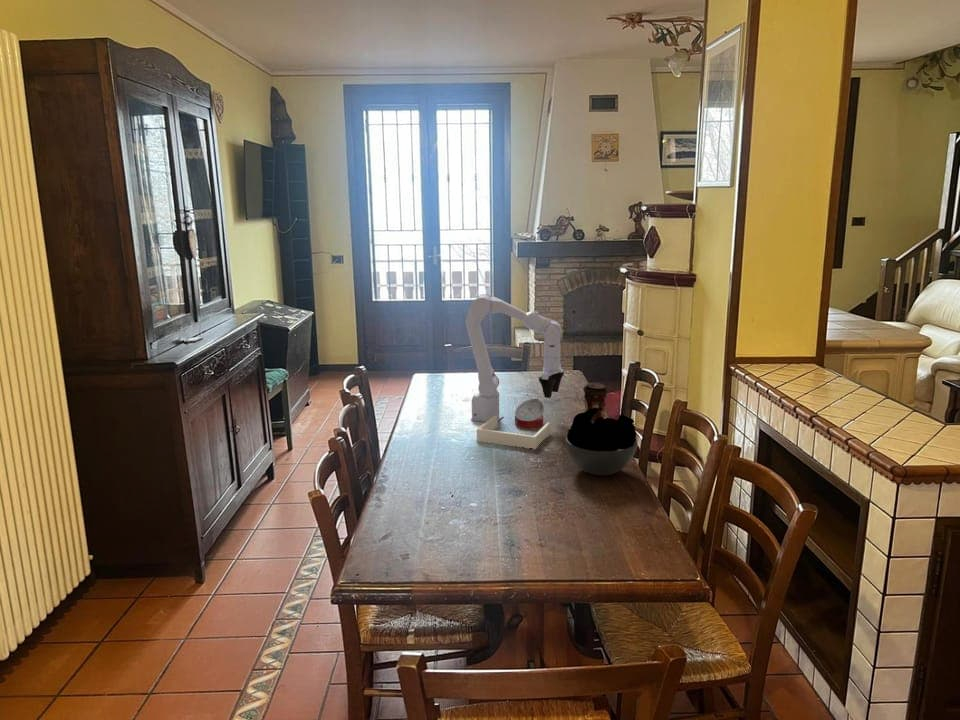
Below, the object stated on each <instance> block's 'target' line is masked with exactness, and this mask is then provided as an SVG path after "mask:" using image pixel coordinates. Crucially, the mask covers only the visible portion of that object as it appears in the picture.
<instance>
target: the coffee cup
mask: <svg viewBox="0 0 960 720" xmlns="http://www.w3.org/2000/svg"><path fill="white" fill-rule="evenodd" d="M582 390H583V392H584V396H583V397H584V398H583V399H584V400H583V401H584V412H586V411H588V410H589V409H592V408H601V409H600V410H599V411H598V412H597V413H596V414H594V415H593V416H592V417H591V422H592V423H594V421H595V420H596V419H597V418H598V417H601V418H603V419H605V414H606V413H605V412H606V404H607V397H608V396H607V395H608V393H609V390H608V388H607V386H606V385H605V384H603V383H600V382H588V383H586V384H585V385H584V387H583V389H582Z"/></svg>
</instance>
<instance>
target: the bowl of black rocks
mask: <svg viewBox="0 0 960 720" xmlns="http://www.w3.org/2000/svg"><path fill="white" fill-rule="evenodd" d="M600 409H601V408H592V409H589V410H588V411H586V412H585V411H583V412H580V413H578V414H576V415H575V416H574V417H573V421H572V424H571V425H570V429H568V430H567V434H566V435H565V439H564V441H565V447H566V450H567V451H566V452H567V453H568V455H569V457H570V459H571V461H572V462H573V463H574V464H575V465H576V466H577V467H578V468H579V469H581V470H583V471H584V472H586V473H589V474H590V475H591V474H593V475H596V476H608V475H612V474H616V473H618V472H620V471H621V470H622V469H624V468H626V467H627V466H628V465H629V464H630V462H631V460H633V458H634V456H635V454H636V451H637V448H638V440H637V432H636V427H635V425H634V423H635V421H634V419H633V418H631V417H629V416H627V415H623V414H620V415H619V416H618V419H615V418H611V417H606V418H604V419H603V418H601V417H598V418H597V419H596V420H595V421H594V423H592V422H591V417H592V416H593V415H594V414H596V413H597V412H598V411H599V410H600Z"/></svg>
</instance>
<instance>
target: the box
mask: <svg viewBox="0 0 960 720" xmlns="http://www.w3.org/2000/svg"><path fill="white" fill-rule="evenodd" d="M496 428H498V421H497V416H493V417H492V418H491V419H490V420H488V421H487V422H484V423H483V424H481V425H480V426H479V427H477V429H476V442H480V441H481V442H480V443H487V442H488V443H489V444H494V443H495V445H501V446H502V445H503V446H510V447H515V446H516V447H515V448H522V447H524V449H529V448H533V449H532V450H536V449H538V447H539V446H540V445H541V444H542V443H543V442H544V441H545V440H546V439H547V438H548V437H549V436H550V435H551V422H549V421H548V422H546V423H545V424H543V426H542V427H540V428H539V430H538V431H537V432H536V433H535V434H534V435H529V434H523V433H522V434H521V433H515V432H509V431H499V430H495V429H496ZM547 436H548V437H547ZM546 437H547V438H546ZM545 438H546V439H545ZM544 439H545V440H544ZM543 440H544V441H543ZM542 441H543V442H542ZM541 442H542V443H541ZM488 443H487V444H488ZM540 443H541V444H540ZM539 444H540V445H539ZM538 445H539V446H538ZM537 446H538V447H537Z"/></svg>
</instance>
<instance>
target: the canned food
mask: <svg viewBox="0 0 960 720" xmlns="http://www.w3.org/2000/svg"><path fill="white" fill-rule="evenodd" d="M544 408H545V407H544V404H543V402H542V401H541V400H540V399H538V398H530V399H528V400H525V401H523V402H522V403H520V404H519V406H517V408H516V409H515V410H514V425H515V427H516V428H519V427H520V429H524V428H525V429H524V430H533V429H532V428H535V429H539V428H538V427H540V428H542V427H543V426H544V415H543V413H544V411H545V409H544ZM542 425H543V426H542ZM541 426H542V427H541Z"/></svg>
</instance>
